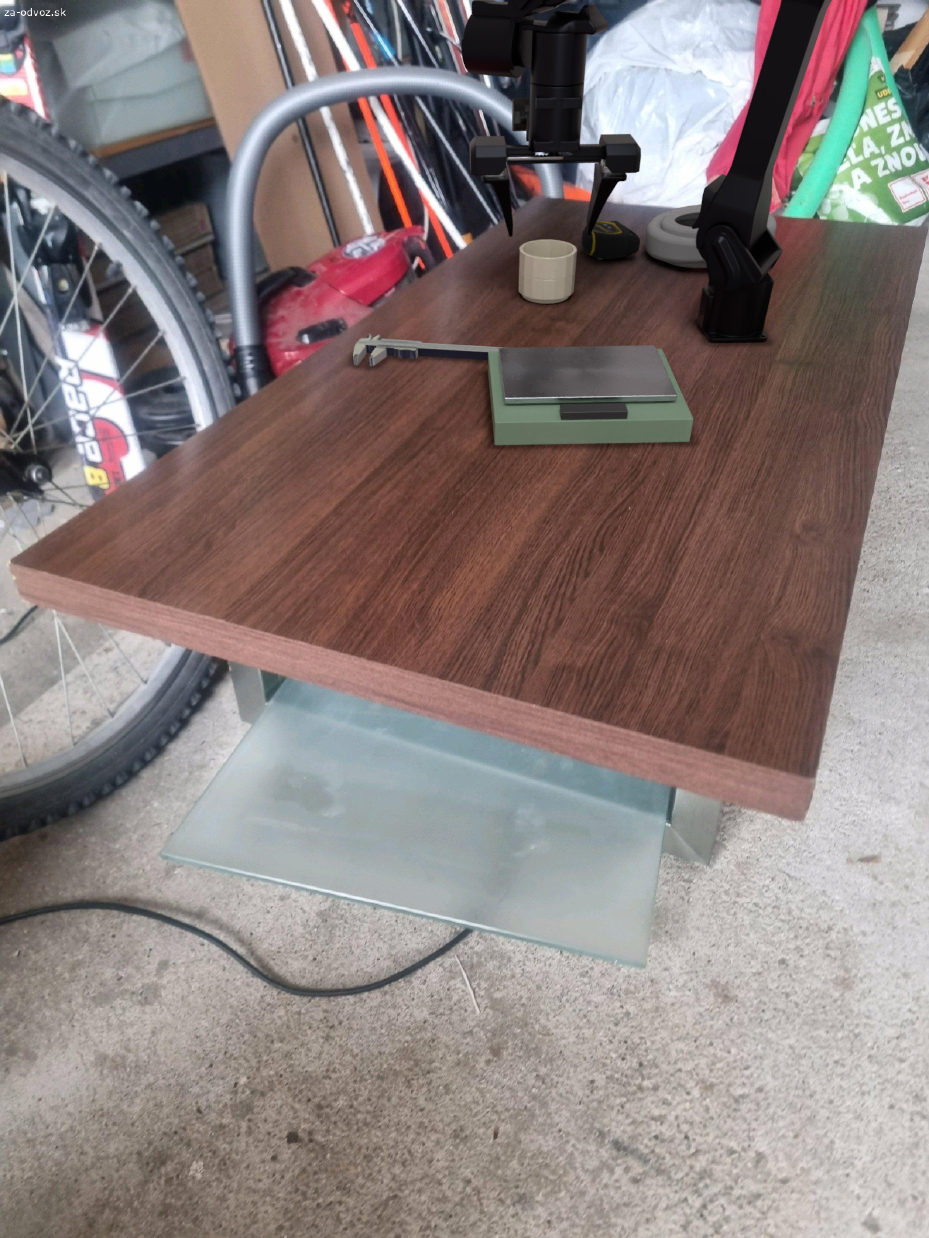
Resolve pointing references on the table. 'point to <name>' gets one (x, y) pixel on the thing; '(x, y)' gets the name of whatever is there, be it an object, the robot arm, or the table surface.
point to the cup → (546, 270)
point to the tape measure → (610, 241)
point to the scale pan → (584, 374)
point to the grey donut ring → (680, 237)
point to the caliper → (415, 350)
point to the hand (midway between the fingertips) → (549, 235)
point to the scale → (587, 418)
